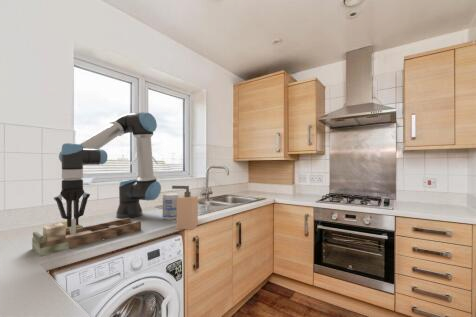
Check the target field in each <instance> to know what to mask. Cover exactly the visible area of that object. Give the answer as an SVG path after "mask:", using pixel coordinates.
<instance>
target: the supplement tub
mask: <svg viewBox="0 0 476 317" xmlns="http://www.w3.org/2000/svg"><path fill="white" fill-rule="evenodd" d="M178 197H180V195H179V193H175V192H173V193H172V192H171V193H168V192H167V193H164V194H162V219H163V220H167V221H170V220H177V198H178Z"/></svg>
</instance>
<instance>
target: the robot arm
mask: <svg viewBox="0 0 476 317" xmlns="http://www.w3.org/2000/svg"><path fill="white" fill-rule="evenodd" d="M157 124H158V123H157V120H156V118H155V116H154V115H153V114H152V113H149V112H143V111H142V112H134V113H130V112H129V113H126V114H123V115H121V116H119V117H117V118H115V119H114V120H112V121H111V122H109V124H108V126H105V127H104V128H103V129H101V130H99V131H98V132H96V133H95V134H93V135H91V136H89V137H88V138H86V139H85V140H83V141H81V142H80V143H73V142H72V143H69V142H67V143H62V146H61V151H60V152H59V155H58V160H59V161H60V163H61V179H62V180H61V191H60V194H59V195H57V196H54V197H53V200H54V201H55V202H56V204H57V207H58V210H59V213H60V217H61V218H62V219H64V220H66V222H67V226H68V227H70V234H71V235H73V234H76V226H77V225H78V224H79V218H80V217H83V216H84V214H85V212H86V211H85V210H86V207H87V202H88V199H89V198H90V196H91V194H90V193H87V192H85V189H84V180H83V178H84V166H91V165H92V166H95V165H96V166H100V165H104V164H106V162H107V161H108V153H107V152H106V150H104V149H101V148H102V147H105V145H107V144H108V143H110V142H111V141H113V140H114V139H116V138H117V137H121V136H123V135H124V134H128V133H132V136H133V137H134V138H135V142H136V143H135V144H136V155H137V156H136V157H137V158H136V159H137V169H138V178H137V177H136V178H135V179H134V178H133V179H124V180H121V181H120V182H119V185H118V191H119V192H118V193H119V194H118V195H119V196H118V197H119V202H118V203H119V204H118V207H117V210H116V215H115V216H116V218H118V219H125V218H130V219H131V218H136V217H140V216H142V215H143V209H142V207H141V204H140V201H147V202H148V201H154V200H156V199H158V198H159V197H160V195H161V191H162V186H161V183H160V182H158V180H157V177H156V176H155V175H154V164H153V163H154V162H153V149H152V137H153V135H154V132H155V131H156V130H157V128H158V127H157V126H158V125H157ZM81 197H82V199H81ZM63 199H64V200H65V203H66V210H65V207H64V204H63V201H62V200H63ZM80 199H81V202H80ZM79 202H80V204H79ZM72 206H73V207H72ZM72 212H73V213H72ZM72 214H73V215H72Z"/></svg>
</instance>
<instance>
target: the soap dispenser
mask: <svg viewBox="0 0 476 317" xmlns="http://www.w3.org/2000/svg"><path fill="white" fill-rule="evenodd" d="M171 188H172V189H173V190H185V191H184V193H183V194H184V195H181V196H180V195H179V197H178V198H177V218H176V229H177V230H184V231H186V230H188V231H189V230H191V231H192V230H194V229H195V228H196V227H197V226H198V220H199V219H198V218H199V217H198V215H199V212H198V210H199V208H198V207H199V206H198V202H199V201H198V200H199V198H198V197H199V196H198V195H191V193H192V192H191V191H190V185H172V186H171ZM172 189H171V190H172Z"/></svg>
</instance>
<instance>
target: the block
mask: <svg viewBox="0 0 476 317" xmlns="http://www.w3.org/2000/svg"><path fill="white" fill-rule="evenodd" d="M58 223H59V224H56V223H53V224H54V225H53V224H50V225H43V226H42V236H43V242H50V241H54V240H59V239H63V238H66V226H65V225H63V224H62V222H58Z"/></svg>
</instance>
